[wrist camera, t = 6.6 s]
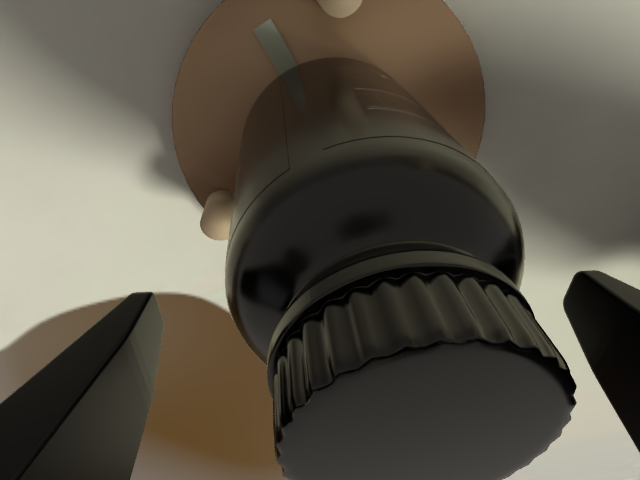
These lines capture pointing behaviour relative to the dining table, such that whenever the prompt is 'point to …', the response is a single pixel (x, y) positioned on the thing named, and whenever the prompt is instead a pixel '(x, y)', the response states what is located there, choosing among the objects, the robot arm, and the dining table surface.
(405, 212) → the supplement bottle
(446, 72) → the dowel base
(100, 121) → the dining table surface
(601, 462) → the dining table surface
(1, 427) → the robot arm
